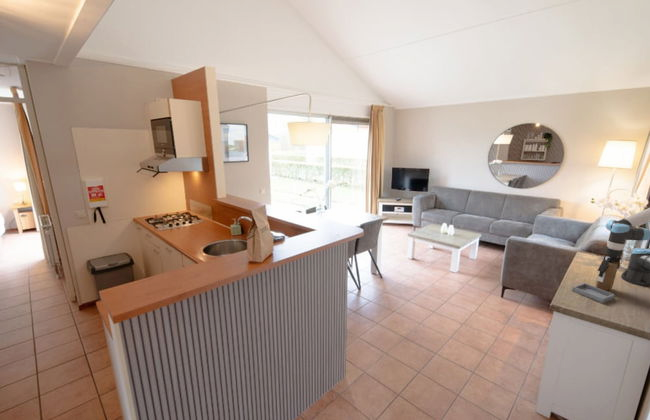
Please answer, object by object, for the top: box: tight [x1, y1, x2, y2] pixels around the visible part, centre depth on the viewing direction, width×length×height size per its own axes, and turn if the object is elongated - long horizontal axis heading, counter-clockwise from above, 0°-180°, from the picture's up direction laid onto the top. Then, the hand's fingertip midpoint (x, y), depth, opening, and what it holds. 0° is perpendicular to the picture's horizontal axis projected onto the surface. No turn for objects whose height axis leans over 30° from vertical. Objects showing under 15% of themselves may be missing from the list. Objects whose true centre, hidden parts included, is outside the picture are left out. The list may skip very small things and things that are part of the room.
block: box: [595, 261, 618, 293], centre depth 187 cm, size 11×8×20 cm
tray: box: [571, 282, 615, 304], centre depth 183 cm, size 13×16×3 cm
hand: (605, 279), depth 188 cm, fingers open, 13 cm apart
